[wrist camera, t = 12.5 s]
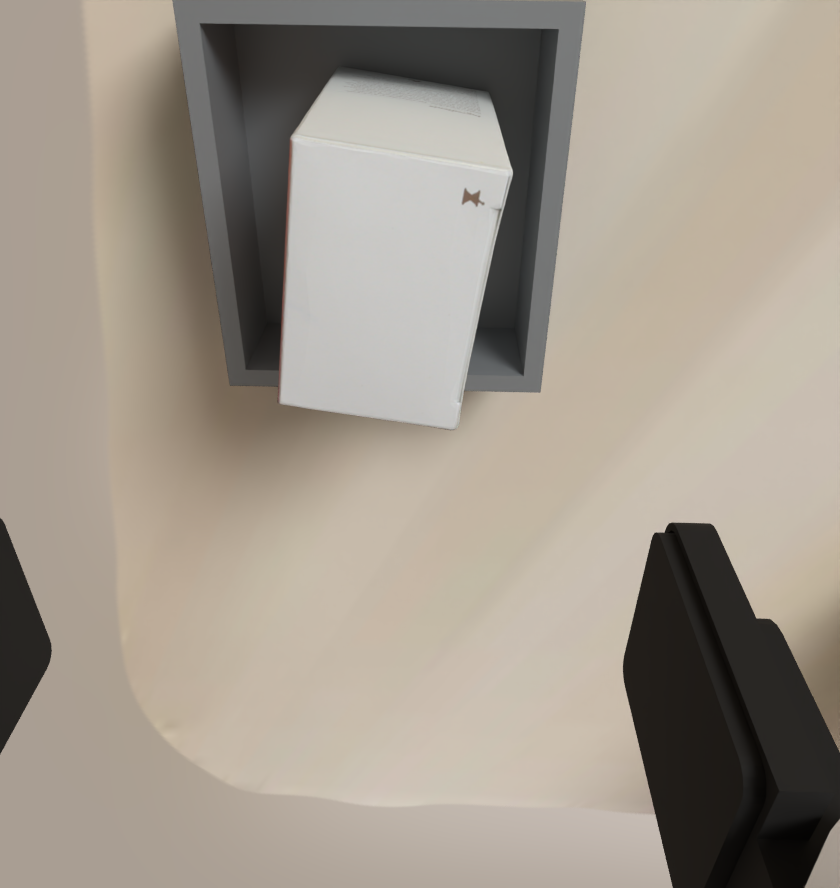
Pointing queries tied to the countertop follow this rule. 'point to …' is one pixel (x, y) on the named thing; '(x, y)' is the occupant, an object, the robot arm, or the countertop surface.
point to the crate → (394, 53)
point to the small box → (388, 246)
